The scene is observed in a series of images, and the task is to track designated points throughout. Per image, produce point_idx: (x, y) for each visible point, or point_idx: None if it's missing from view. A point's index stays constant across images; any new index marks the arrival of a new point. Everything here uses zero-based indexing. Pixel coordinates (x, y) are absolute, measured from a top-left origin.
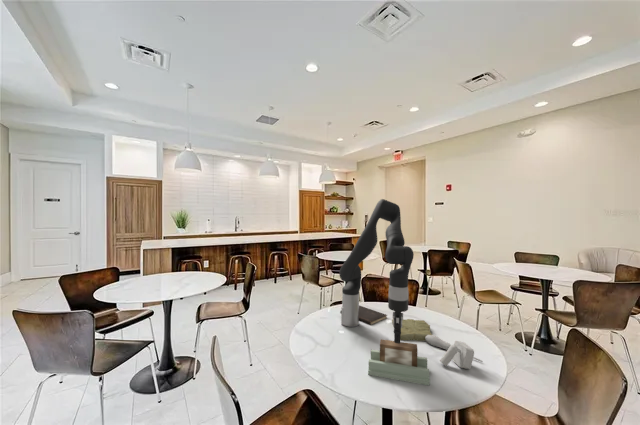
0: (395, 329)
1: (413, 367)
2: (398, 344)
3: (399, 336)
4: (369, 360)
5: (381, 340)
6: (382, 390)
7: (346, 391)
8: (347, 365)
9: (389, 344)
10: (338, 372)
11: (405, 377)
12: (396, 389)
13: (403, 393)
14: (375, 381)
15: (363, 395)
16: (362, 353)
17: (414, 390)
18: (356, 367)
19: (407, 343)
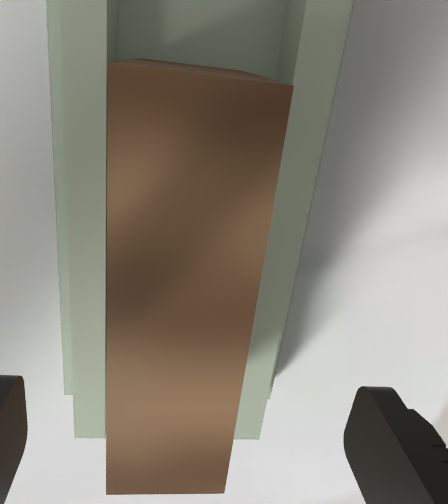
0: (2, 493)
1: (303, 122)
2: (190, 331)
3: (445, 487)
4: (245, 435)
5: (135, 486)
6: (405, 309)
7: None
8: None
9: (215, 418)
10: (266, 498)
11: (315, 178)
12: (396, 235)
13: (434, 197)
14: (325, 344)
15: (442, 387)
16: None
17: (406, 120)
18: None
19: (128, 217)
